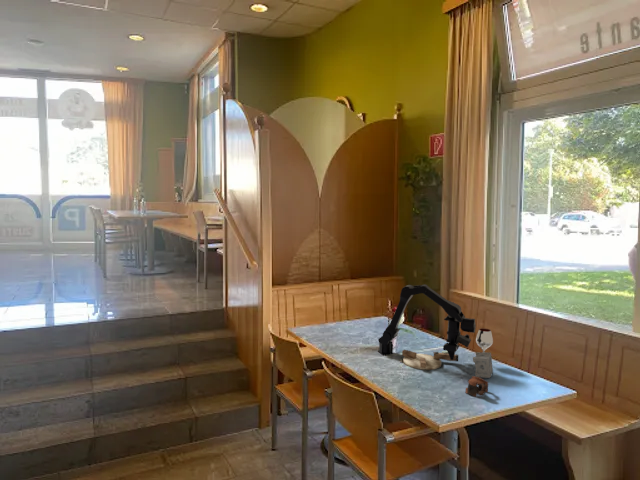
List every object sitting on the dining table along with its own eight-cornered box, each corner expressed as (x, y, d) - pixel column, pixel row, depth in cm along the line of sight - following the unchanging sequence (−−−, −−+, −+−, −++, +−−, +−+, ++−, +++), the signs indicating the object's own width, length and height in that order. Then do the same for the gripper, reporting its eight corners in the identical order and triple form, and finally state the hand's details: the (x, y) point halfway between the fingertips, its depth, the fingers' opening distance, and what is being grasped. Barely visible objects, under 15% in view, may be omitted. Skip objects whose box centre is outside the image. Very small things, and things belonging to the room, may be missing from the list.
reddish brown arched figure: (459, 391, 211) (465, 373, 213) (477, 399, 213) (483, 382, 215) (474, 395, 200) (481, 376, 202) (493, 404, 201) (499, 385, 203)
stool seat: (416, 372, 231) (416, 363, 231) (395, 358, 250) (396, 350, 250) (449, 367, 238) (449, 359, 237) (427, 354, 257) (427, 347, 256)
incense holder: (475, 370, 235) (476, 349, 234) (492, 373, 231) (494, 352, 230) (471, 377, 226) (472, 355, 225) (490, 380, 223) (491, 358, 222)
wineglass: (491, 362, 246) (493, 328, 244) (491, 368, 238) (493, 333, 236) (474, 360, 249) (476, 326, 247) (474, 365, 241) (476, 331, 239)
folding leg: (432, 358, 246) (433, 352, 245) (433, 356, 248) (433, 351, 248) (458, 361, 242) (458, 355, 242) (458, 359, 244) (458, 354, 244)
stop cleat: (443, 359, 250) (444, 352, 250) (441, 357, 252) (441, 351, 252) (451, 358, 252) (452, 351, 251) (449, 356, 254) (449, 350, 253)
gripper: (467, 336, 228) (465, 368, 230) (472, 327, 245) (471, 357, 247) (443, 333, 233) (442, 364, 235) (450, 324, 250) (449, 353, 251)
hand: (452, 359), depth 242 cm, fingers closed
